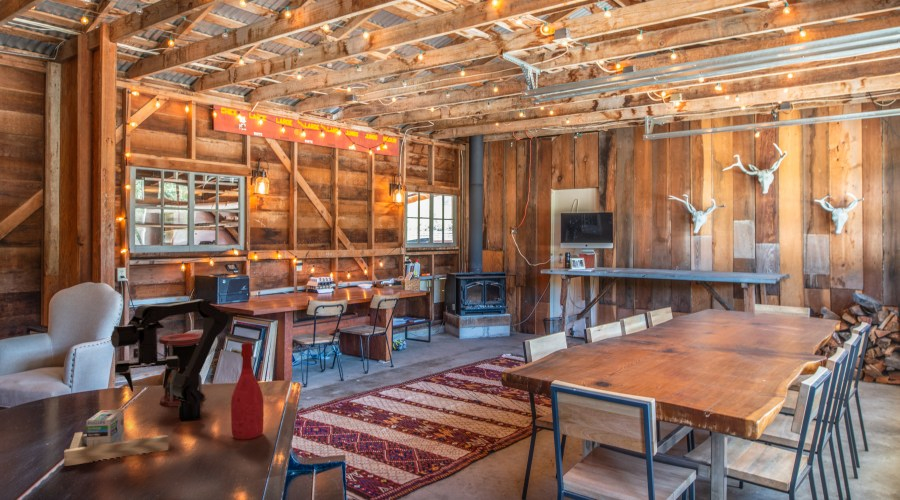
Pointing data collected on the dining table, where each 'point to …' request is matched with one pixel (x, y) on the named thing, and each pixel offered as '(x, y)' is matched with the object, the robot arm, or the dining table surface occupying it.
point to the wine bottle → (247, 401)
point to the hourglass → (184, 350)
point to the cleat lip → (84, 439)
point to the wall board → (111, 449)
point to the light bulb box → (105, 427)
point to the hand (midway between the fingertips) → (148, 389)
